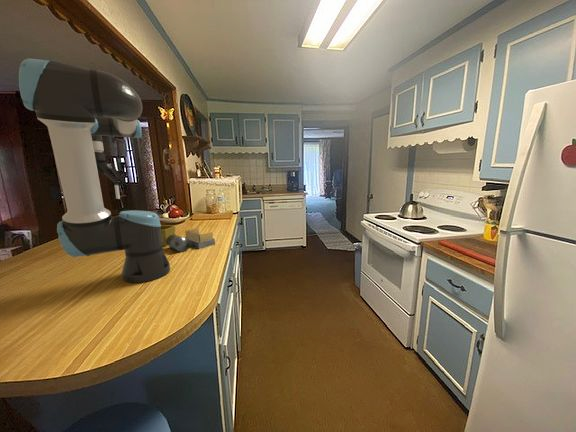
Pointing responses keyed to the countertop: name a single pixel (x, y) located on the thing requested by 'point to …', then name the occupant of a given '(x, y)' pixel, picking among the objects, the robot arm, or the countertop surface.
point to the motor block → (190, 240)
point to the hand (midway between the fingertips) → (100, 200)
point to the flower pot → (166, 233)
